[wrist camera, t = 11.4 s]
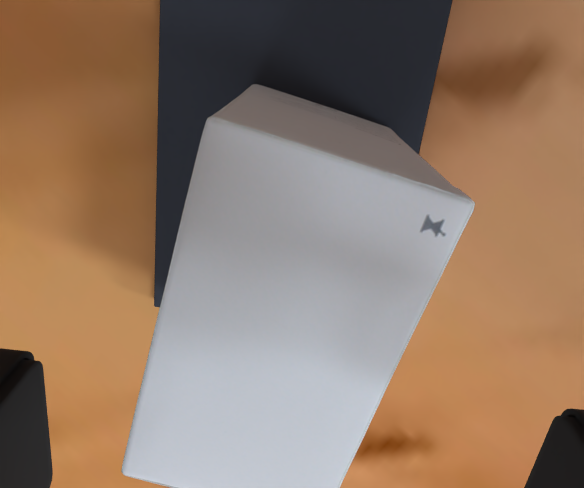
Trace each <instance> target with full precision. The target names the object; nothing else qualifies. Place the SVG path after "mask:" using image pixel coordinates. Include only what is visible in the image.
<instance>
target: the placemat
mask: <svg viewBox="0 0 584 488" xmlns="http://www.w3.org/2000/svg"><path fill="white" fill-rule="evenodd" d="M451 4H452V0H160V37H159V88H158V140H157V191H156V242H155V293H154V306H155V307H160V305H161V301H162V297H163V293H164V289H165V285H166V281H167V277H168V273H169V268H170V264H171V260H172V255H173V251H174V247H175V243H176V239H177V234H178V230H179V226H180V222H181V218H182V213H183V209H184V205H185V201H186V197H187V193H188V189H189V185H190V181H191V177H192V173H193V169H194V165H195V161H196V157H197V153H198V149H199V145H200V141H201V137H202V133H203V130H204V126H205V123H206V120H207V118H208V117H210V116H212V115H213V114H215V113H217V112H218V111H219V110H221V109H222V108H223V107H225V106H226V105H228V104H229V103H230V102H231V101H233V100H234V99H235V98H237V97H238V96H239V95H241V94H242V93H243V92H244V91H245V90H246V89H248V88H249V87H250V86H251V85H253V84H258V85H262V86H265V87H268V88H271V89H274V90H277V91H281V92H284V93H287V94H290V95H293V96H296V97H299V98H302V99H305V100H308V101H311V102H314V103H317V104H320V105H323V106H326V107H329V108H332V109H335V110H338V111H341V112H344V113H347V114H350V115H353V116H356V117H359V118H362V119H365V120H368V121H371V122H374V123H377V124H380V125H383V126H386V127H389V128H390V129H392V130H393V131H394V132H395V133H396V135H398V136H399V138H400V139H402V140H403V141H404V142H405V143H406V144H407V145H408V146H409V147H410V148H412V149H413V150H414V151H415V152H416V153H417V154H419V150H420V145H421V141H422V136H423V132H424V127H425V122H426V118H427V113H428V109H429V104H430V100H431V95H432V91H433V86H434V81H435V77H436V72H437V68H438V63H439V59H440V54H441V50H442V45H443V41H444V36H445V31H446V27H447V22H448V18H449V13H450V9H451Z"/></svg>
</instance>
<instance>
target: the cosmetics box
mask: <svg viewBox="0 0 584 488" xmlns="http://www.w3.org/2000/svg"><path fill="white" fill-rule="evenodd" d="M474 206H475V202H474V201H473V200H472V199H471V198H470V197H468V196H467V195H466V194H465V193H463V192H462V191H461V190H460V189H458V188H456V187H454V186H452V185H451V184H450V183H449V182H448V181H447V180H446V179H445V178H444V177H443V176H442V175H440V174H439V173H438V172H437V171H436V170H435V169H434V168H433V167H432V166H431V165H429V164H428V163H427V162H426V161H425V160H424V159H423V158H422V157H420V156H419V155H418V154H417V153H416V152H415V151H414V150H413V149H412V148H410V147H409V146H408V145H407V144H406V143H405V142H404V141H403V140H402V139H400V138H399V136H398V135H396V133H395V132H394V131H393V130H392V129H390V128H389V127H386V126H383V125H380V124H377V123H374V122H371V121H368V120H365V119H362V118H359V117H356V116H353V115H350V114H347V113H344V112H341V111H338V110H335V109H332V108H329V107H326V106H323V105H320V104H317V103H314V102H311V101H308V100H305V99H302V98H299V97H296V96H293V95H290V94H287V93H284V92H281V91H277V90H274V89H271V88H268V87H265V86H262V85H258V84H253V85H251V86H250V87H249V88H248V89H246V90H245V91H244V92H243V93H242V94H241V95H239V96H238V97H237V98H235V99H234V100H233V101H231V102H230V103H229V104H228V105H226V106H225V107H223V108H222V109H221V110H219V111H218V112H217V113H215V114H213V115H212V116H210V117H208V118H207V120H206V123H205V126H204V130H203V133H202V137H201V141H200V145H199V149H198V153H197V157H196V161H195V165H194V169H193V173H192V177H191V181H190V185H189V189H188V193H187V197H186V201H185V205H184V209H183V213H182V218H181V222H180V226H179V230H178V234H177V239H176V243H175V247H174V251H173V255H172V260H171V264H170V268H169V273H168V277H167V281H166V285H165V289H164V293H163V297H162V301H161V305H160V309H159V313H158V317H157V321H156V325H155V330H154V334H153V338H152V342H151V346H150V351H149V355H148V359H147V363H146V368H145V372H144V376H143V380H142V384H141V388H140V393H139V397H138V401H137V405H136V409H135V413H134V418H133V422H132V426H131V430H130V434H129V439H128V443H127V447H126V452H125V456H124V460H123V465H122V473H123V474H124V475H125V476H129V477H132V478H136V479H140V480H144V481H148V482H152V483H155V484H159V485H163V486H167V487H172V488H340V486H341V484H342V481H343V479H344V477H345V475H346V473H347V471H348V469H349V466H350V464H351V462H352V460H353V458H354V456H355V454H356V452H357V450H358V448H359V446H360V443H361V441H362V439H363V437H364V435H365V433H366V431H367V429H368V427H369V424H370V422H371V420H372V418H373V416H374V414H375V412H376V409H377V407H378V405H379V403H380V401H381V399H382V397H383V395H384V392H385V390H386V388H387V386H388V384H389V382H390V380H391V378H392V375H393V373H394V371H395V369H396V367H397V365H398V363H399V361H400V359H401V357H402V355H403V353H404V350H405V348H406V346H407V344H408V342H409V340H410V338H411V336H412V334H413V332H414V330H415V328H416V326H417V324H418V322H419V320H420V318H421V316H422V314H423V312H424V310H425V308H426V306H427V304H428V302H429V300H430V298H431V295H432V293H433V291H434V289H435V287H436V285H437V283H438V281H439V279H440V277H441V275H442V273H443V271H444V269H445V267H446V265H447V263H448V261H449V259H450V257H451V255H452V253H453V250H454V248H455V246H456V244H457V242H458V240H459V238H460V236H461V234H462V232H463V230H464V228H465V226H466V224H467V222H468V220H469V218H470V216H471V214H472V212H473V210H474Z"/></svg>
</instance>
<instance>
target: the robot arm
mask: <svg viewBox="0 0 584 488" xmlns="http://www.w3.org/2000/svg"><path fill="white" fill-rule="evenodd" d="M52 471H53V470H52V460H51V449H50V438H49V427H48V417H47V406H46V395H45V384H44V374H43V366H42V363H41V362H39V361H34V356H33V355H32V353H31V352H28V351H19V350H9V349H0V488H50V485H51V481H52ZM524 488H584V410H579V409H566V410H565V411H564V412H563V413H562V415H561V416H557V417H555V418H554V420H553V421H552V424H551V426H550V428H549V431H548V433H547V435H546V438H545V440H544V443H543V445H542V447H541V450H540V452H539V454H538V457H537V459H536V461H535V464H534V466H533V469H532V471H531V473H530V476H529V478H528V480H527V483H526V485H525V487H524Z"/></svg>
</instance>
